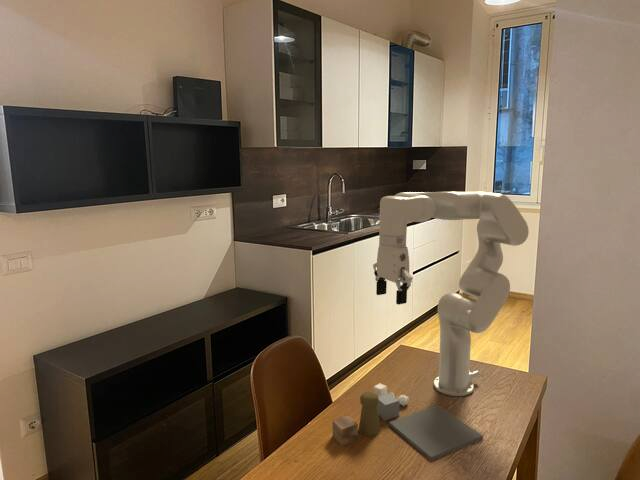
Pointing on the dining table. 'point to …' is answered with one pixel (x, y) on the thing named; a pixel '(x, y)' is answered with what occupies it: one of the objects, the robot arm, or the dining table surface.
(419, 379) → the dining table surface
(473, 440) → the mat
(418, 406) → the dining table surface
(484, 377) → the dining table surface
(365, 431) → the olive lobed rounded piece
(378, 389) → the game pieces
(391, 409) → the slate-grey block
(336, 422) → the walnut block
